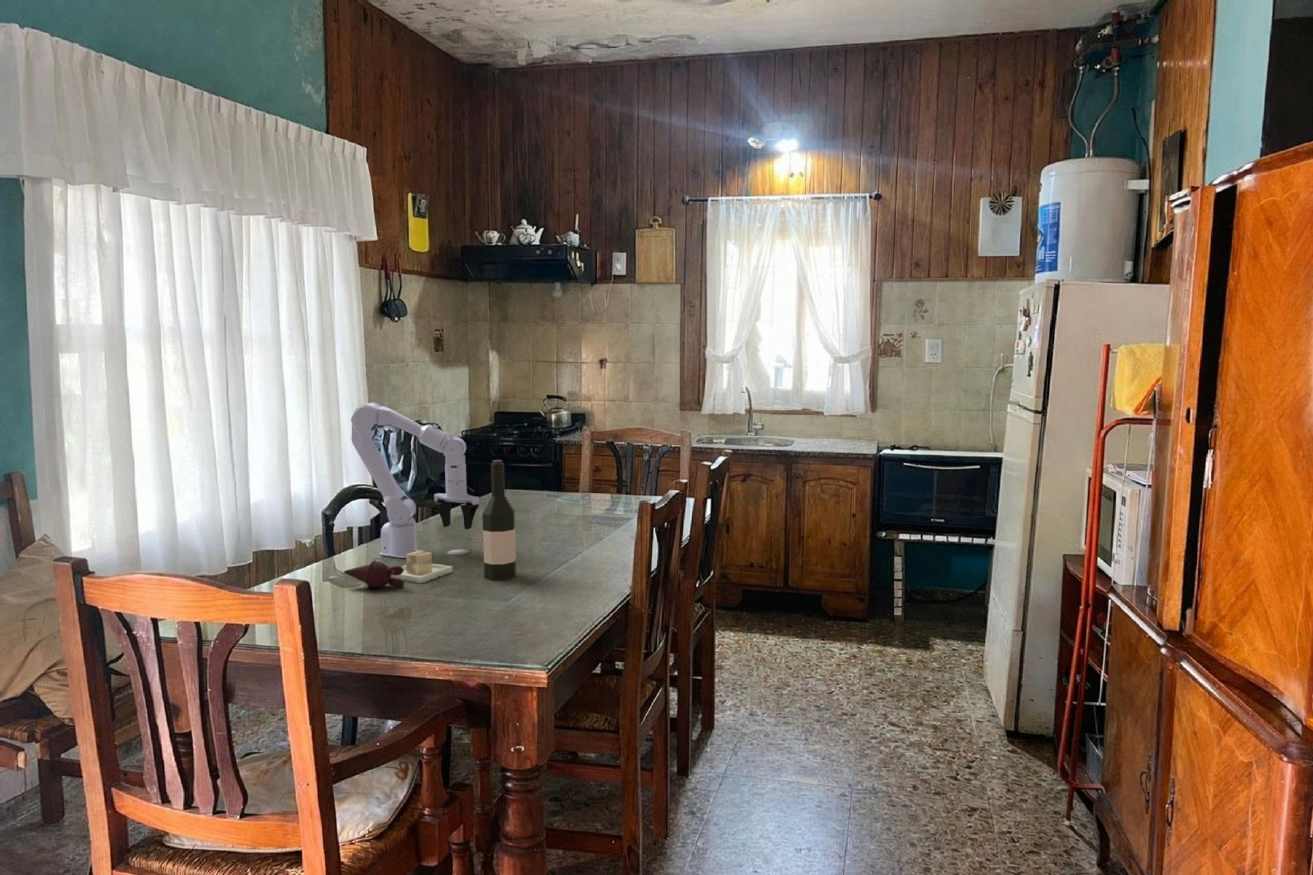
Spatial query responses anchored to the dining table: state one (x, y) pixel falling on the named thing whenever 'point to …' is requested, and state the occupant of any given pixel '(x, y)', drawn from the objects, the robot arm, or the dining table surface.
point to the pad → (458, 552)
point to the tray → (436, 572)
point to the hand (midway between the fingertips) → (457, 527)
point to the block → (419, 562)
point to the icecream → (377, 575)
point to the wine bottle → (499, 530)
